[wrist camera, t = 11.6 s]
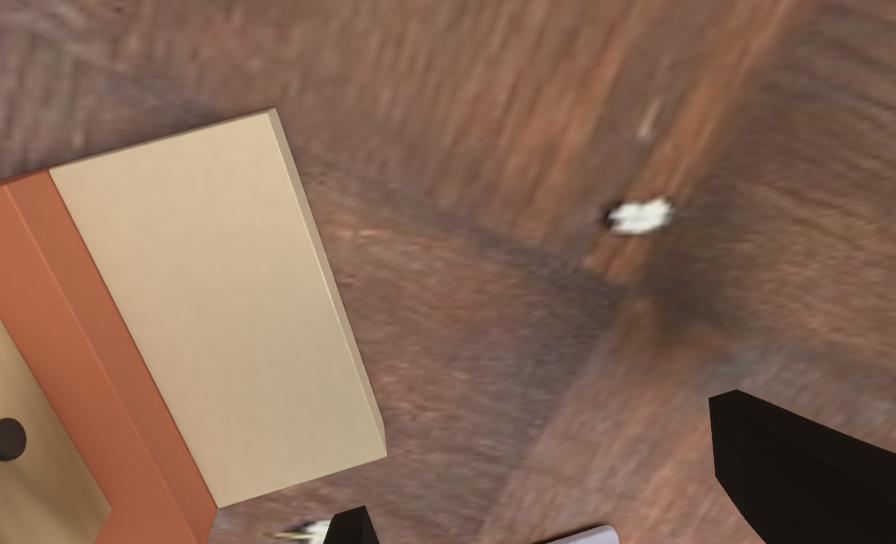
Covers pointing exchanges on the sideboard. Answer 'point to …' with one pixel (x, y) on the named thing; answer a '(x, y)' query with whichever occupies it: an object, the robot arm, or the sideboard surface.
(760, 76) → the sideboard surface
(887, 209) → the sideboard surface
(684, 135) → the sideboard surface
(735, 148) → the sideboard surface
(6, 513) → the beige block with hole
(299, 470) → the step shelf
